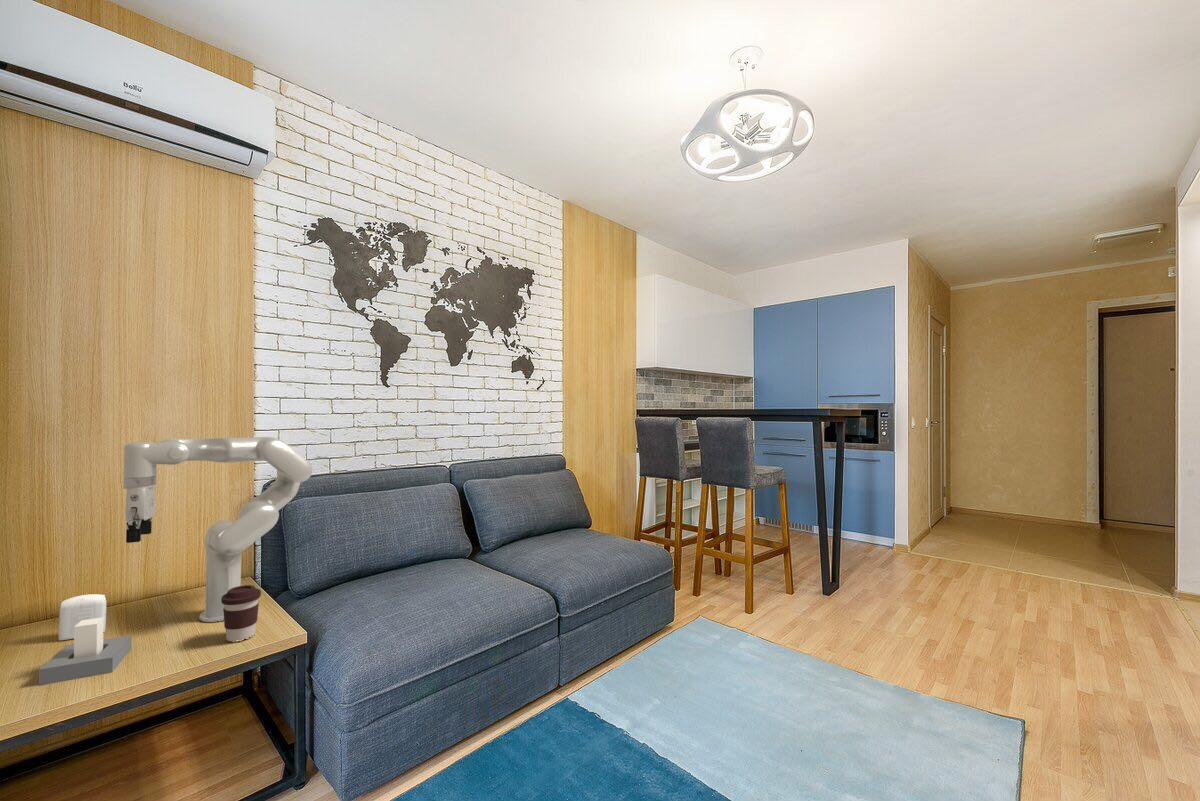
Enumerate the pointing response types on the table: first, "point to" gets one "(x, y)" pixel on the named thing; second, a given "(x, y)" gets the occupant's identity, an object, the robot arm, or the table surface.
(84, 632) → the plug
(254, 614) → the coffee cup
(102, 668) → the socket box
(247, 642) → the table surface
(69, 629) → the photo printer
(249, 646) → the table surface
